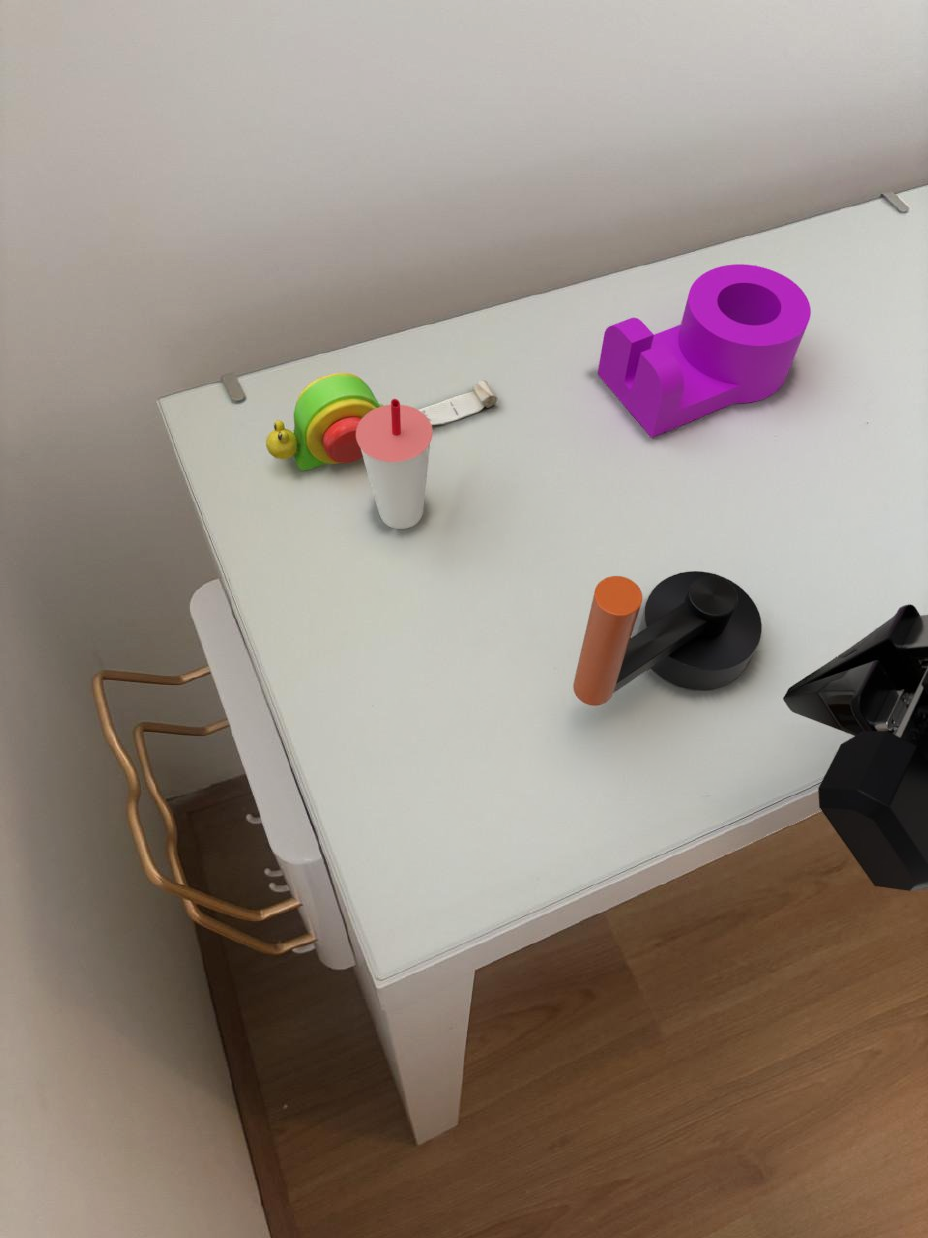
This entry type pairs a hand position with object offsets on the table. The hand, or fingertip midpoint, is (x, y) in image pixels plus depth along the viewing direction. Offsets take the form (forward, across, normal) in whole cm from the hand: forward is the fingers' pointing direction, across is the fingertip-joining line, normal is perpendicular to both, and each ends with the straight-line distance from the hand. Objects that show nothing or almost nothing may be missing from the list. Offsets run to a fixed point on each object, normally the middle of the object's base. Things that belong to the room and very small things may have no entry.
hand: (789, 700), depth 50 cm
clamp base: (+13, +9, -2) cm, 16 cm away
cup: (+29, +6, +16) cm, 34 cm away
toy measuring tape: (+33, +12, +21) cm, 41 cm away
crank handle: (+12, +4, +1) cm, 13 cm away
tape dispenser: (+20, +33, +8) cm, 40 cm away
